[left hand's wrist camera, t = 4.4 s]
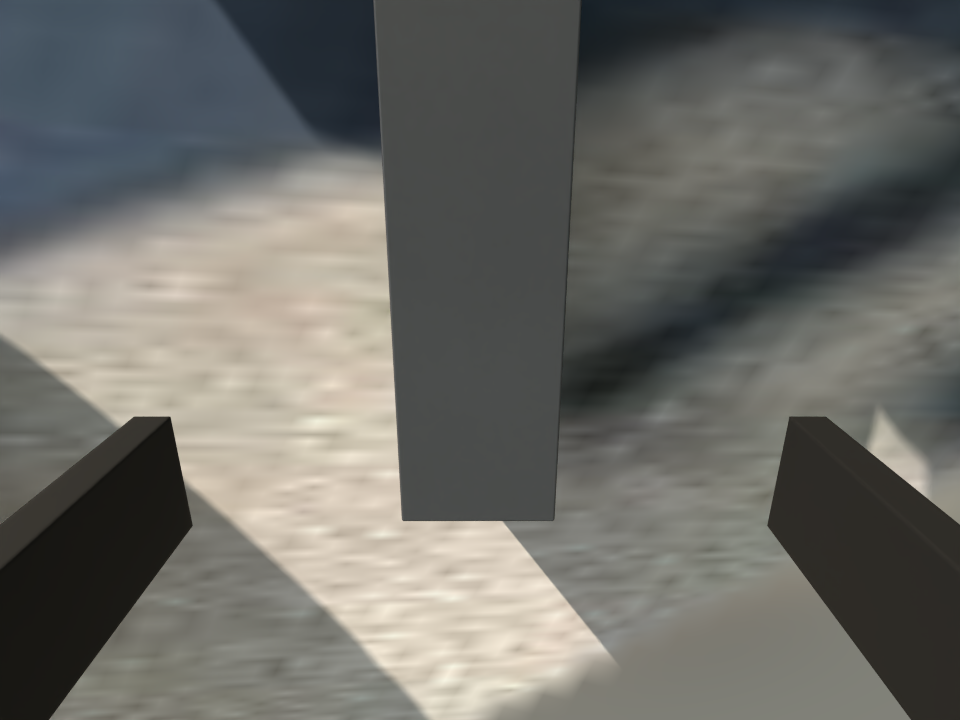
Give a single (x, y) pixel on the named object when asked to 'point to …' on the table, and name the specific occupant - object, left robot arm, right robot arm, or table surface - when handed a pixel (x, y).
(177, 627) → the table surface
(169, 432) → the left robot arm
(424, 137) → the beam
